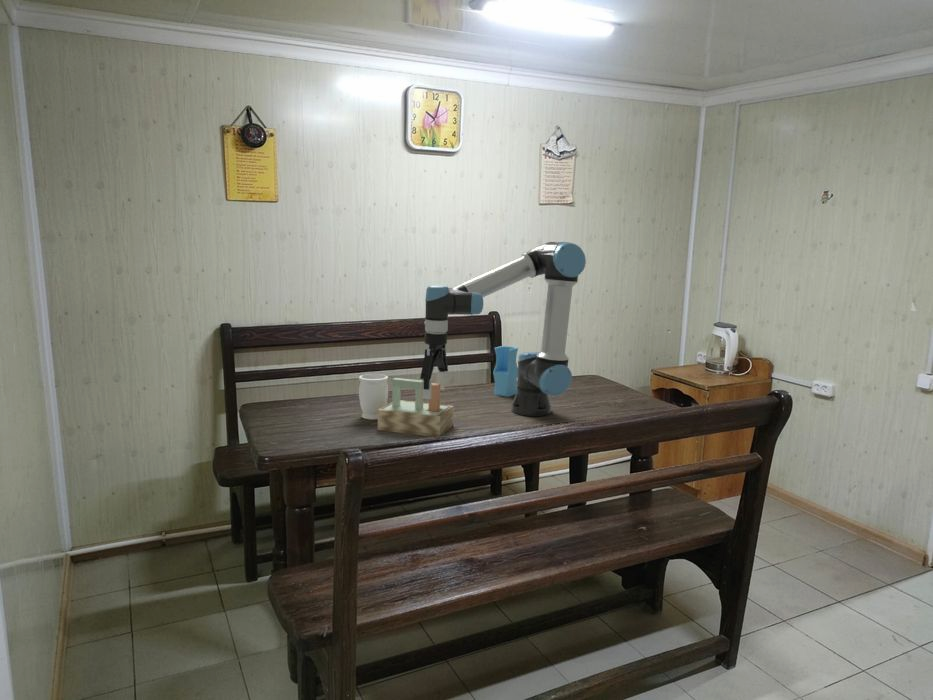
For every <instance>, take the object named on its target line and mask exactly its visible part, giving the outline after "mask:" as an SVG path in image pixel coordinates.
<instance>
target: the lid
mask: <svg viewBox="0 0 933 700" xmlns="http://www.w3.org/2000/svg"><path fill="white" fill-rule="evenodd" d="M391 383H392V386H391V388H392V391H391V392H392V394H391V395H392V396H391V398H392V399H391V400H392V401H391V402H392V404H391V405H389V406H388V407H386V408H384V409H383V410H392V411H400V412H409V413H417V414H425V415H434V416H438V415H439V414H441V413H442V412H443V411H445V410H446V409H447V408H449V406H450V405H449V406H440V411H439V412H431V411H429V404H423V403H424V398H423V379H412V378H411V379H410V378H400V377H394V378H392V382H391ZM401 388H403V389H413V390H415V392H414V393H415V395H414V396H415V399H414V402H415V403H414V402H405V401H406V400H405V401H400V400H401V390H402V389H401Z"/></svg>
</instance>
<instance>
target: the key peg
mask: <svg viewBox="0 0 933 700" xmlns="http://www.w3.org/2000/svg"><path fill="white" fill-rule="evenodd" d="M428 403H429V411H431V412H439V411H440V405H441V390H440V384H439V383H437V382H432V386H431V399H428Z"/></svg>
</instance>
